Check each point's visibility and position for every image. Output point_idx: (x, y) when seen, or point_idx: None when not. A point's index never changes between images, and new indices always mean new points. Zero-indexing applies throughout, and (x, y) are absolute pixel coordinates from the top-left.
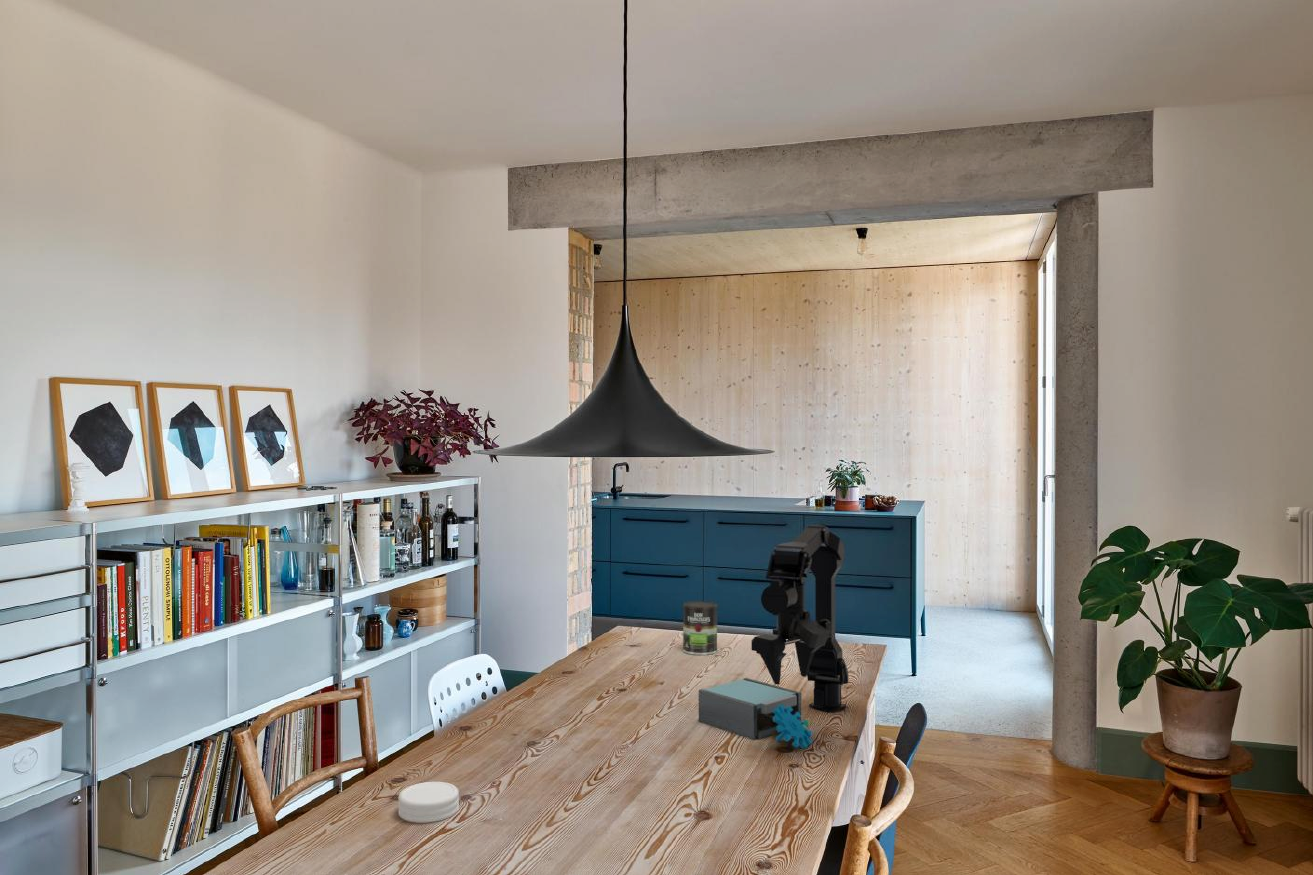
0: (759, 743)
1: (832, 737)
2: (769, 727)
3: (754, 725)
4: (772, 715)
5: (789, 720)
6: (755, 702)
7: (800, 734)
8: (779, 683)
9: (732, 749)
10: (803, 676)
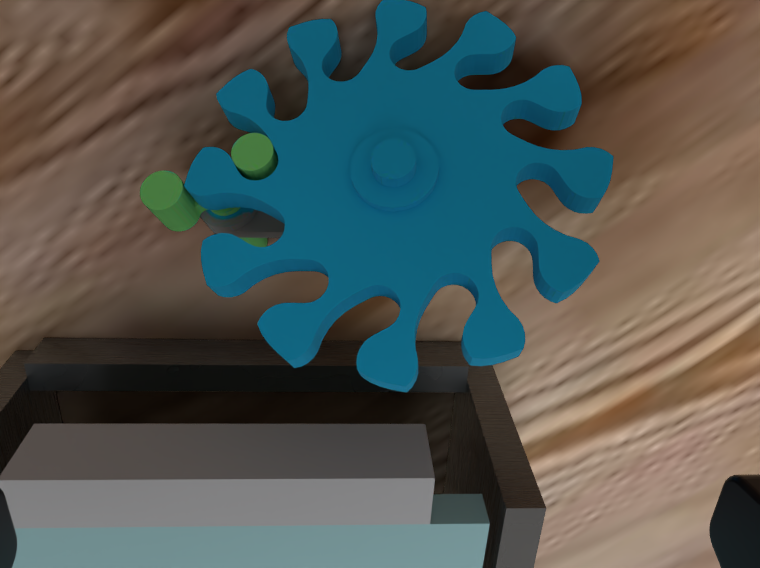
0: (522, 292)
1: (19, 21)
2: (343, 377)
3: (498, 406)
4: None
5: (410, 218)
6: (445, 555)
7: (379, 91)
8: (741, 477)
9: (712, 326)
10: (8, 512)
